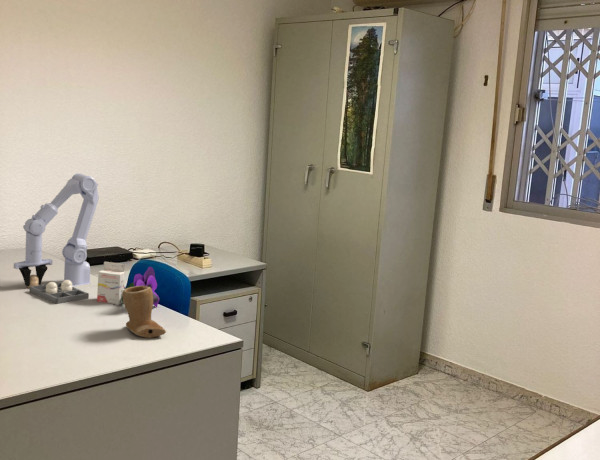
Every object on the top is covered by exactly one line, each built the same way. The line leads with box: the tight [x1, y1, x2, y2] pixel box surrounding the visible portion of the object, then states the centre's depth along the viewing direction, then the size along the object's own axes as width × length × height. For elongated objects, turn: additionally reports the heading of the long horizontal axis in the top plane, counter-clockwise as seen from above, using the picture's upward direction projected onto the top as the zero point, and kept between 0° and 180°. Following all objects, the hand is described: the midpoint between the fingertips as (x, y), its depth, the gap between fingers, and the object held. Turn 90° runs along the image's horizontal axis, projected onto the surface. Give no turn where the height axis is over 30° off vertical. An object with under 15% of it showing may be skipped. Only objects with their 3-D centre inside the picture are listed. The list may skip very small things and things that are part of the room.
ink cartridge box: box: [96, 261, 126, 306], centre depth 240 cm, size 9×5×15 cm, turn 83°
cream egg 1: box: [46, 281, 57, 294], centre depth 240 cm, size 4×4×6 cm
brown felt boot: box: [122, 286, 167, 339], centre depth 211 cm, size 15×12×15 cm
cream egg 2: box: [61, 279, 73, 292], centre depth 245 cm, size 4×4×6 cm
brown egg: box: [26, 274, 39, 290], centre depth 250 cm, size 4×4×6 cm
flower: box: [121, 266, 160, 308], centre depth 239 cm, size 15×15×14 cm
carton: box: [29, 281, 90, 305], centre depth 243 cm, size 13×19×2 cm
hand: (32, 285), depth 250 cm, fingers closed on brown egg, 4 cm apart
